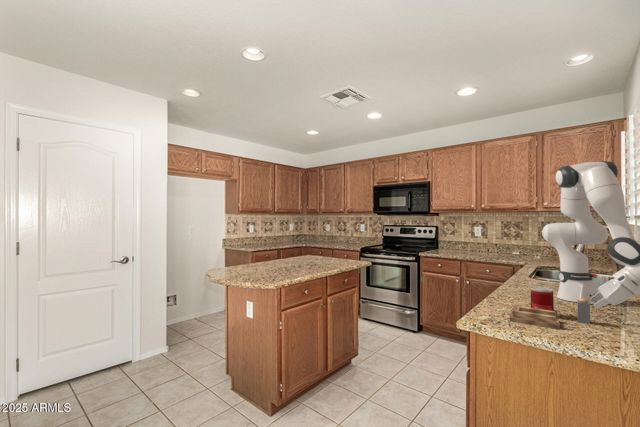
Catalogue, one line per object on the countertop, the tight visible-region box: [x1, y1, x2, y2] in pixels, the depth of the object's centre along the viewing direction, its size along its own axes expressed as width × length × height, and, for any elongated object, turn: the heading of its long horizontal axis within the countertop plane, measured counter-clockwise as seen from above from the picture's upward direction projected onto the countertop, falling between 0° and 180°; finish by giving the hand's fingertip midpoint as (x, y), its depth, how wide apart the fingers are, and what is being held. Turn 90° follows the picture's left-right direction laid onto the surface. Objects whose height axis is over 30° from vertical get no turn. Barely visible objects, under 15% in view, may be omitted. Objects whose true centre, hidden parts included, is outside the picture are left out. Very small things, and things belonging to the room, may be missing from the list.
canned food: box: [530, 286, 555, 311], centre depth 131 cm, size 8×8×11 cm
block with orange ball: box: [576, 298, 591, 325], centre depth 121 cm, size 4×4×9 cm
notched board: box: [509, 305, 561, 330], centre depth 122 cm, size 16×11×4 cm
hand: (593, 303), depth 119 cm, fingers open, 8 cm apart
